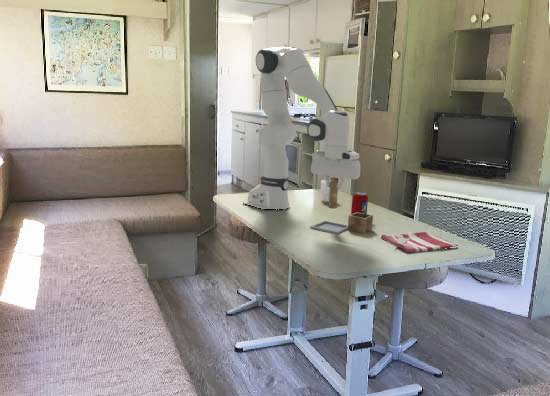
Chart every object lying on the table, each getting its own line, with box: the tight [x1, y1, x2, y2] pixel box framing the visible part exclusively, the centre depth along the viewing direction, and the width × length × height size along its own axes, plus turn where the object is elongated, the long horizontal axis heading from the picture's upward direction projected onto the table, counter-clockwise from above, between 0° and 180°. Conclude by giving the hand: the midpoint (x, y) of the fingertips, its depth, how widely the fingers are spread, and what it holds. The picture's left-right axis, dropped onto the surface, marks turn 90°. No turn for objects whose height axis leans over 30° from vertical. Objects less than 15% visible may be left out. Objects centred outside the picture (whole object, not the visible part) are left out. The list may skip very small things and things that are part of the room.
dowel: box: [328, 176, 339, 210], centre depth 200 cm, size 3×3×12 cm
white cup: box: [320, 179, 330, 203], centre depth 254 cm, size 8×8×10 cm
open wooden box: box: [347, 212, 374, 234], centre depth 202 cm, size 7×7×7 cm
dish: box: [309, 220, 349, 235], centre depth 203 cm, size 12×12×1 cm
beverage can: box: [350, 191, 369, 215], centre depth 219 cm, size 7×7×12 cm
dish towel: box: [380, 231, 459, 254], centre depth 190 cm, size 17×23×3 cm
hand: (333, 187), depth 199 cm, fingers closed on dowel, 3 cm apart
